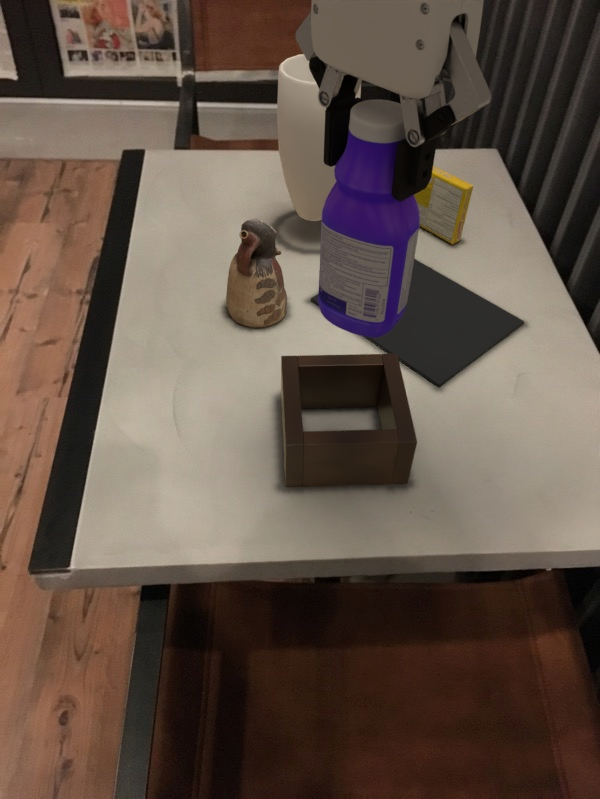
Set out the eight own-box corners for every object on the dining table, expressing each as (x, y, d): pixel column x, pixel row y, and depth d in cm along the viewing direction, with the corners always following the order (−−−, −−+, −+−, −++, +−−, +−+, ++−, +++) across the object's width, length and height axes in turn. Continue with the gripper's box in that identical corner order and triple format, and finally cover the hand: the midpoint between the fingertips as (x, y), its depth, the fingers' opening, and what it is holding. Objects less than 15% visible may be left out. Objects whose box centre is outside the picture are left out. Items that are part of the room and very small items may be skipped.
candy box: (462, 240, 94) (475, 184, 88) (452, 246, 92) (464, 190, 87) (377, 193, 102) (383, 139, 96) (367, 197, 101) (373, 143, 95)
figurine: (298, 305, 83) (300, 217, 74) (263, 336, 79) (261, 247, 70) (251, 284, 85) (248, 197, 77) (215, 313, 81) (207, 225, 73)
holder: (390, 395, 73) (397, 353, 68) (407, 483, 65) (417, 442, 60) (281, 397, 72) (281, 355, 68) (285, 486, 64) (285, 445, 60)
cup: (323, 203, 99) (331, 45, 84) (365, 238, 93) (383, 74, 78) (261, 223, 95) (258, 61, 80) (301, 260, 89) (306, 93, 74)
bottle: (415, 314, 58) (448, 107, 45) (384, 352, 54) (411, 139, 42) (340, 286, 60) (352, 83, 48) (306, 321, 57) (309, 112, 45)
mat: (523, 323, 81) (524, 321, 81) (438, 387, 74) (439, 384, 73) (397, 251, 91) (397, 249, 91) (310, 300, 83) (310, 298, 83)
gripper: (593, -136, 33) (507, 204, 46) (337, -174, 41) (326, 121, 54) (501, -117, 29) (436, 247, 42) (241, -163, 38) (254, 150, 51)
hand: (374, 173), depth 48 cm, fingers closed on bottle, 5 cm apart
